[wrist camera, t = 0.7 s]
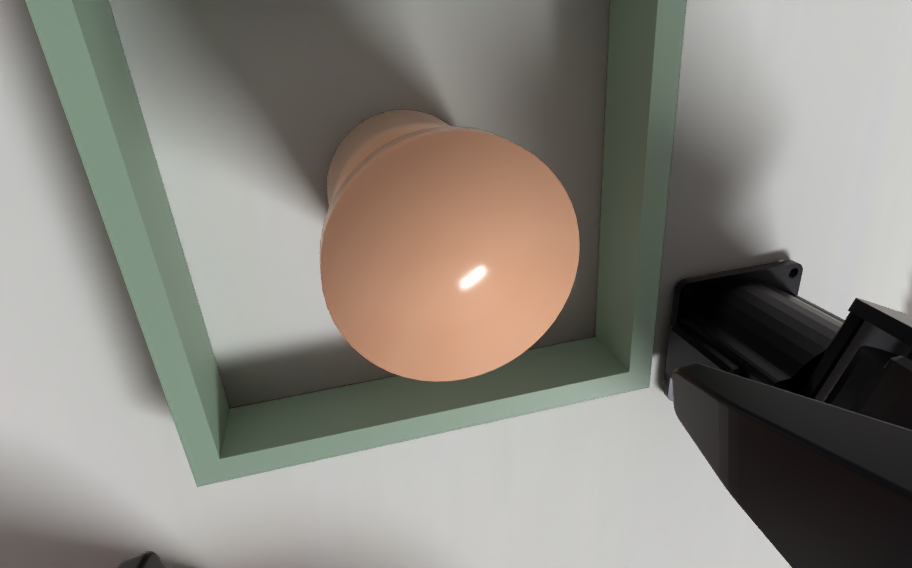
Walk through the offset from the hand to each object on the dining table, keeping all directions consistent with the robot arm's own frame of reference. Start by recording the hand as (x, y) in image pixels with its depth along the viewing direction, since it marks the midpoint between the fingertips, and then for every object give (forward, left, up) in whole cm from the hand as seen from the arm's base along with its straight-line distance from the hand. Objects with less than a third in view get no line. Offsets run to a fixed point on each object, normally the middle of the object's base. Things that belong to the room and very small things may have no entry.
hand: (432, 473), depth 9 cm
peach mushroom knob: (-2, -1, -13) cm, 13 cm away
